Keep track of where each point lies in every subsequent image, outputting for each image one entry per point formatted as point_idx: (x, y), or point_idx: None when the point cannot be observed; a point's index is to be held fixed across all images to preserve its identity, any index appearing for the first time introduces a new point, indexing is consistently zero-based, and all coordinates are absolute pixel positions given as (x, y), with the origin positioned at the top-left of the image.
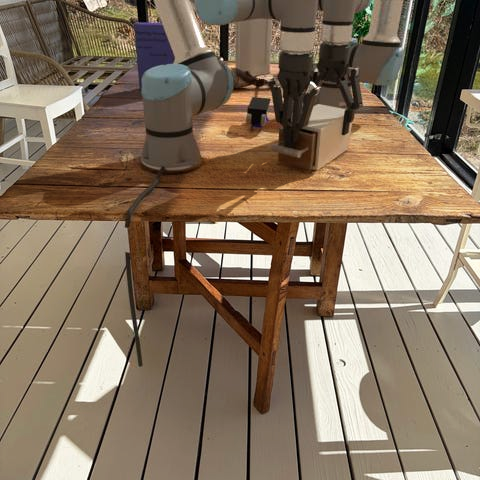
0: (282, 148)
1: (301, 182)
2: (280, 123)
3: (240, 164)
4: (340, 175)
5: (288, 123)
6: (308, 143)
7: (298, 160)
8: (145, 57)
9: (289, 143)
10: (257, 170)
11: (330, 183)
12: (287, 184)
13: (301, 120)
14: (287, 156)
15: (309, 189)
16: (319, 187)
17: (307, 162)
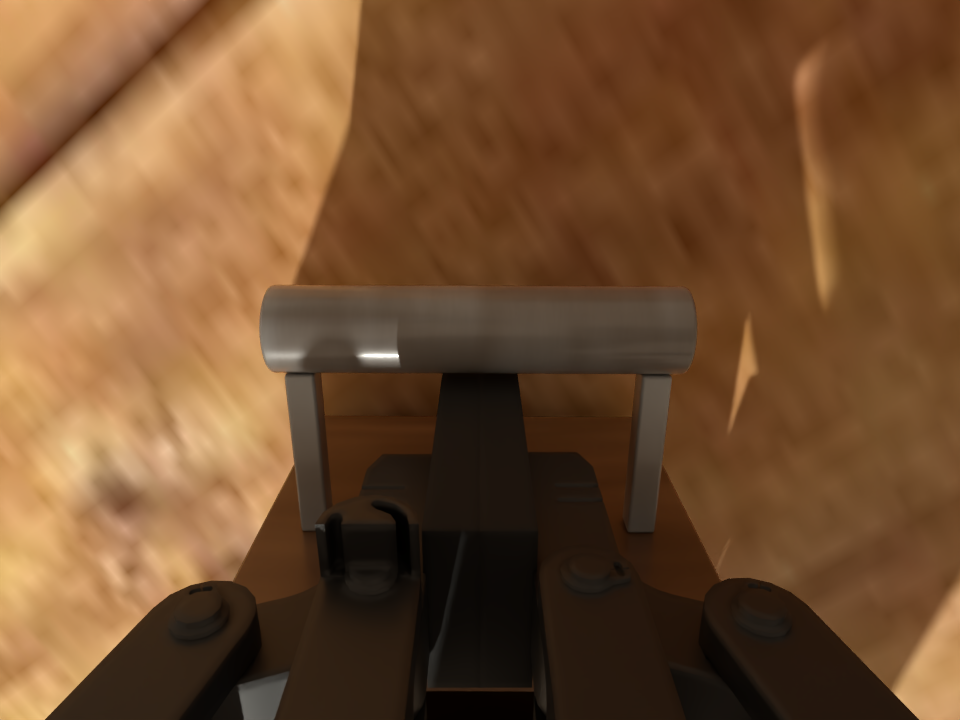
0: (504, 312)
1: (269, 208)
2: (694, 605)
3: (929, 218)
4: (133, 502)
5: (540, 652)
6: (291, 560)
7: (430, 445)
8: None
9: (449, 409)
10: (725, 195)
11: (88, 335)
12: (336, 88)
13: (139, 715)
14: (548, 449)
15: (128, 118)
16: (97, 211)
17: (333, 444)
